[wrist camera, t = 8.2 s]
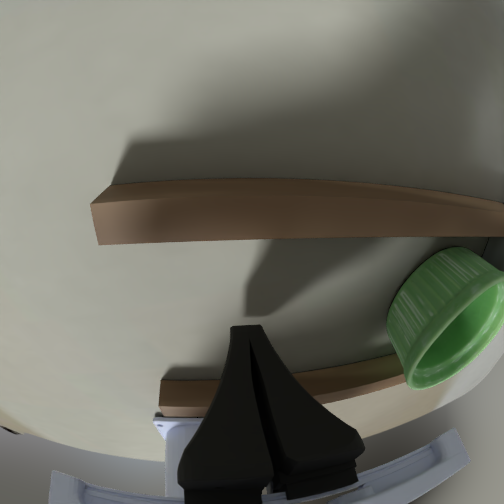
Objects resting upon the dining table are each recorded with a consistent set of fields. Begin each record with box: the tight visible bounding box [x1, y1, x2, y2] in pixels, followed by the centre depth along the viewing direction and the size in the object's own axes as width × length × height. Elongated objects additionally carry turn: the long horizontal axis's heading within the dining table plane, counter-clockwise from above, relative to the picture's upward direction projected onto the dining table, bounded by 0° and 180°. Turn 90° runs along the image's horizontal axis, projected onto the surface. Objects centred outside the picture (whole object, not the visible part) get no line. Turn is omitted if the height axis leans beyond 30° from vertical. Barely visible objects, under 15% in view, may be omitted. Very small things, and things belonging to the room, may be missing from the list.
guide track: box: [90, 178, 504, 417], centre depth 13 cm, size 14×24×3 cm, turn 88°
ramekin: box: [386, 247, 504, 390], centre depth 13 cm, size 9×9×4 cm
